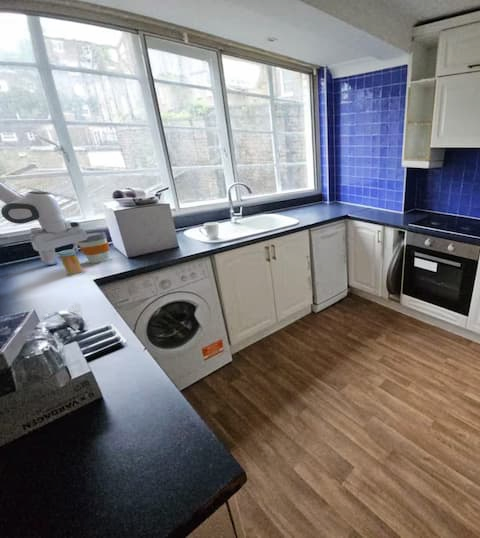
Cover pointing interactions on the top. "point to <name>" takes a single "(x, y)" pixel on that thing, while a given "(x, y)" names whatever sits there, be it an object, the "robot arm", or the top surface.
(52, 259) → the plastic bottle
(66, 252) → the jar lid
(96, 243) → the reusable coffee cup
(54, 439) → the top surface
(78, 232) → the robot arm
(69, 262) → the jar
